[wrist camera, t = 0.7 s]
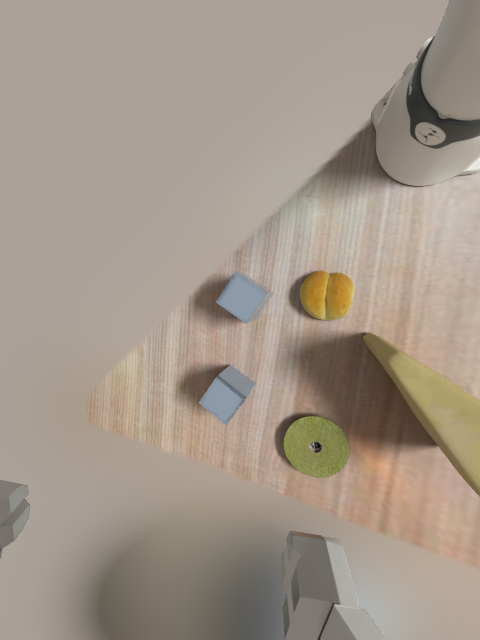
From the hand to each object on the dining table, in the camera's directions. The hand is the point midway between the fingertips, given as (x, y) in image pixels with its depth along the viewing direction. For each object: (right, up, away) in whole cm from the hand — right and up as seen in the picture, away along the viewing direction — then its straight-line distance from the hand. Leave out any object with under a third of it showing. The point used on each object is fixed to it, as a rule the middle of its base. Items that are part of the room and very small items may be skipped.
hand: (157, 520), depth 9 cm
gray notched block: (+5, +10, +44) cm, 45 cm away
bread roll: (+18, +11, +41) cm, 46 cm away
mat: (+16, -16, +43) cm, 49 cm away
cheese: (+32, -4, +38) cm, 50 cm away
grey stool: (+1, -7, +46) cm, 46 cm away
